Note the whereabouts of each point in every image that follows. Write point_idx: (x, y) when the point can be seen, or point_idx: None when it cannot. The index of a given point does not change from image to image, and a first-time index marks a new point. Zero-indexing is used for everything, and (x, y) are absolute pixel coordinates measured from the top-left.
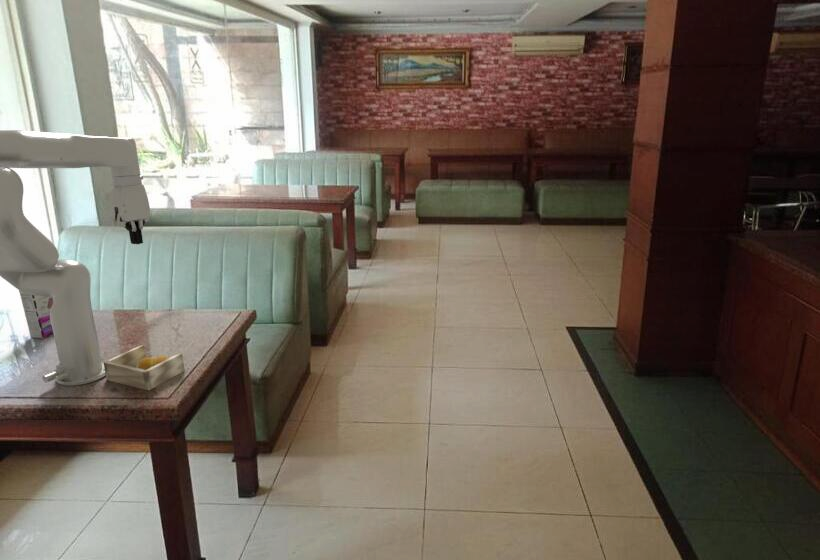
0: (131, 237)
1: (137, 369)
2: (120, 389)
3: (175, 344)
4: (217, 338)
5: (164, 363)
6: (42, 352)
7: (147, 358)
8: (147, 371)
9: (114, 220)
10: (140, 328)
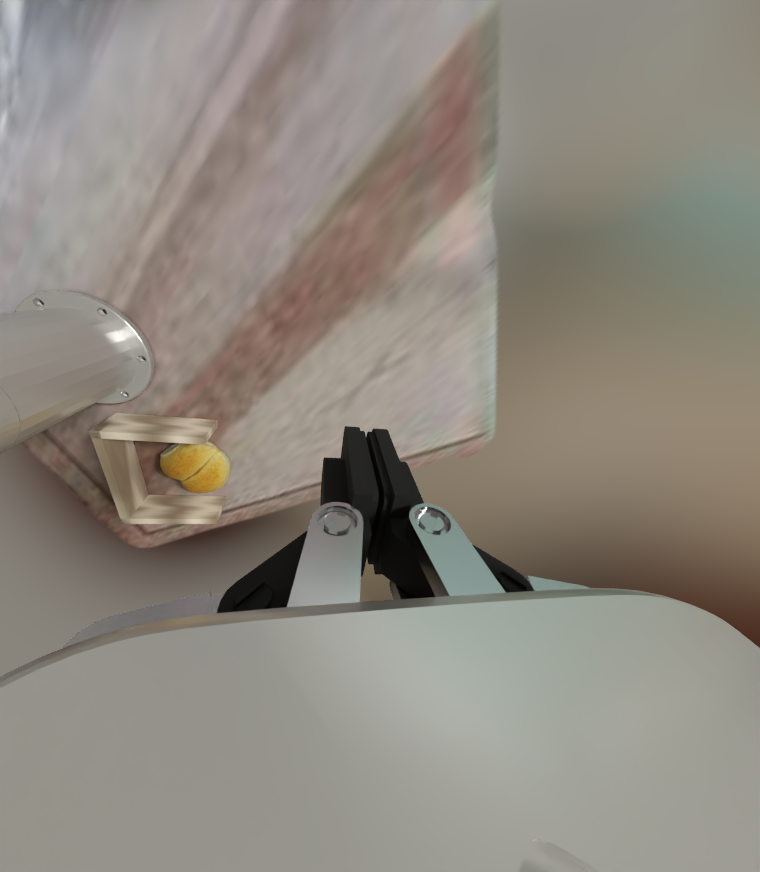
0: (322, 489)
1: (119, 506)
2: None
3: (307, 421)
4: None
5: (171, 522)
6: (80, 48)
7: (182, 470)
8: (126, 523)
9: (4, 692)
10: (361, 273)
